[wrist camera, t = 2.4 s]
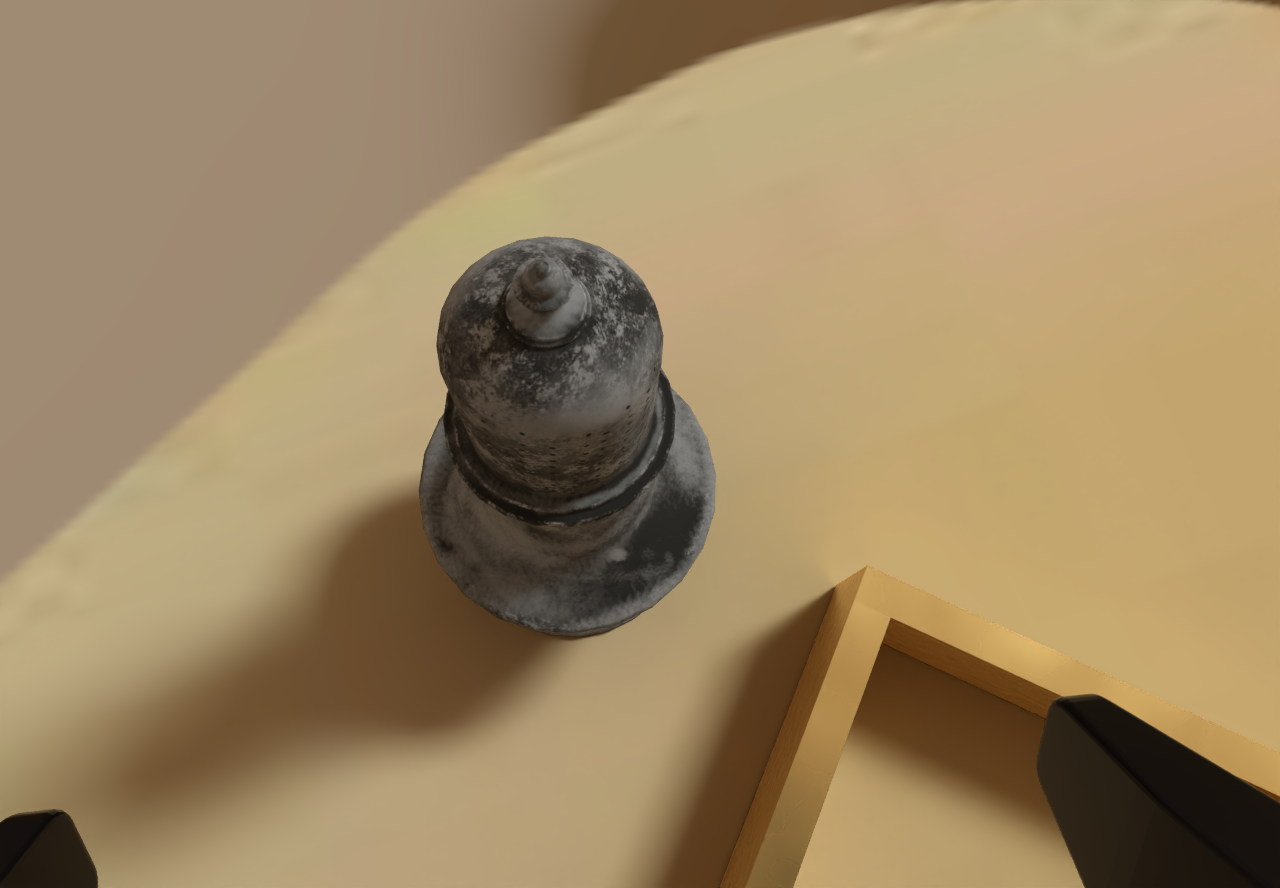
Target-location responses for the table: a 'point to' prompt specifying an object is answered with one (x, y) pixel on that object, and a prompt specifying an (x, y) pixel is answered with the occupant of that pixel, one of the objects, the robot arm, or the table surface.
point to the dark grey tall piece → (561, 443)
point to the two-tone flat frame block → (958, 647)
